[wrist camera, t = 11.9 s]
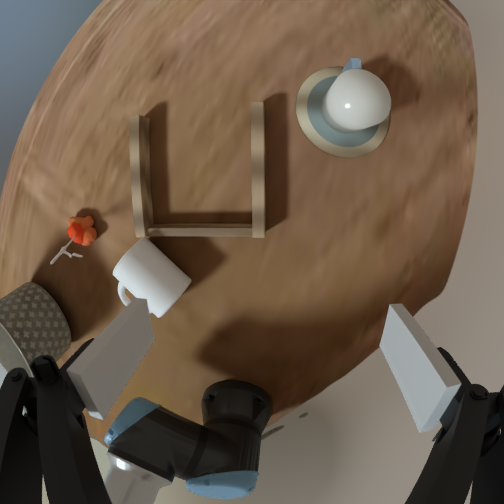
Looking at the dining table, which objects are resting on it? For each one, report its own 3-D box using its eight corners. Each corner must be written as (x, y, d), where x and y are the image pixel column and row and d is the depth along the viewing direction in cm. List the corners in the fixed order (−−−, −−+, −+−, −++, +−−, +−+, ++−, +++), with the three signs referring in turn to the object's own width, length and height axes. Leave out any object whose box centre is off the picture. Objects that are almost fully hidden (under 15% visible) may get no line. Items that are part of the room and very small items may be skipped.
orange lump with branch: (103, 258, 44) (62, 285, 33) (69, 230, 43) (27, 250, 32) (113, 231, 42) (70, 254, 31) (78, 204, 41) (32, 218, 30)
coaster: (388, 161, 35) (390, 161, 34) (296, 154, 36) (296, 154, 35) (385, 75, 30) (386, 74, 30) (294, 64, 32) (294, 63, 31)
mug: (153, 231, 42) (129, 245, 34) (197, 273, 43) (181, 295, 36) (119, 277, 45) (95, 296, 38) (158, 314, 47) (140, 339, 39)
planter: (90, 330, 50) (43, 379, 33) (61, 353, 55) (24, 393, 38) (41, 262, 47) (-15, 296, 29) (20, 297, 51) (-23, 329, 34)
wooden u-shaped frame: (265, 231, 40) (264, 237, 37) (146, 231, 42) (136, 237, 38) (264, 107, 34) (263, 101, 31) (140, 119, 36) (129, 117, 33)
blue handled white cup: (321, 131, 34) (333, 122, 26) (318, 73, 31) (329, 50, 23) (368, 135, 33) (392, 129, 25) (365, 78, 31) (386, 59, 22)
